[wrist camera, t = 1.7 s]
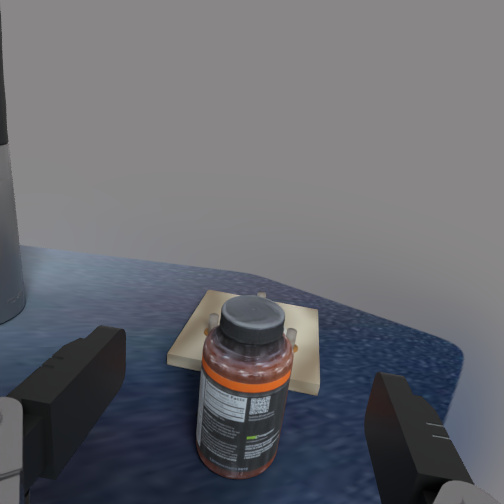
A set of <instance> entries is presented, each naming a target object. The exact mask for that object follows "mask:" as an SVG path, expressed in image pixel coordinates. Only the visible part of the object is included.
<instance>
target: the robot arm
mask: <svg viewBox="0 0 504 504" xmlns="http://www.w3.org/2000/svg"><path fill="white" fill-rule="evenodd" d="M3 77H4V76H3V59H2V32H1V13H0V324H1V323H3V322H6V321H7V320H9V319H11V318H13V317H14V316H16V315H17V314H18V313H20V312H21V310H22V309H23V308H24V306H25V296H24V286H23V276H22V265H21V255H20V246H19V236H18V227H17V218H16V210H15V209H16V208H15V198H14V189H13V179H12V171H11V162H10V152H9V144H8V135H7V124H6V123H7V121H6V100H5V88H4V78H3ZM125 367H126V333H125V330H124V329H120V328H114V327H108V326H102V325H101V326H98V327H97V328H96V329H95V330H94V331H93V332H92V333H91V334H90V335H88V336H87V337H86V338H85V339H83V338H79V339H77V340H75V341H73V342H70V343H68V344H66V345H64V346H63V347H62V348H61V349H59V350H58V351H57V352H56V353H55V354H54V355H53V356H52V358H49V359H48V360H47V361H46V362H45V363H43V365H42V367H39V368H38V369H37V370H35V371H34V372H33V373H32V374H31V375H30V376H29V377H27V378H26V379H25V380H24V381H23V382H22V383H21V384H20V385H18V386H17V387H16V388H15V389H14V390H13V391H12V392H10V393H9V394H8V395H7V396H6V397H0V504H31V493H30V487H31V486H32V485H33V483H34V482H35V481H36V479H37V478H38V477H43V478H48V479H53V480H56V478H57V477H58V475H59V474H60V473H61V471H62V470H63V468H64V467H65V466H66V464H67V463H68V461H69V460H70V459H71V457H72V456H73V454H74V453H75V452H76V450H77V449H78V447H79V446H80V445H81V443H82V442H83V440H84V439H85V438H86V436H87V435H88V433H89V432H90V430H91V429H92V428H93V426H94V425H95V423H96V422H97V421H98V419H99V418H100V416H101V415H102V414H103V412H104V411H105V409H106V408H107V407H108V405H109V404H110V402H111V401H112V400H113V398H114V397H115V395H116V394H117V393H118V391H119V390H120V388H121V386H122V383H123V380H124V376H125ZM364 428H365V436H366V440H367V445H368V449H369V453H370V457H371V461H372V465H373V470H374V474H375V478H376V482H377V486H378V490H379V494H380V499H381V503H382V504H500V503H499V502H498V501H497V500H496V499H495V498H493V497H492V496H491V495H490V494H488V493H487V492H485V491H484V490H482V489H481V488H479V487H477V486H475V485H474V483H473V481H472V479H471V477H470V475H469V473H468V472H467V470H466V468H465V466H464V464H463V462H462V460H461V458H460V456H459V454H458V453H457V451H456V449H455V447H454V445H453V443H452V441H451V440H449V436H448V434H447V432H446V430H445V428H443V424H442V422H441V420H440V418H439V416H438V414H437V413H436V411H435V409H434V408H433V407H432V406H431V405H430V404H429V403H428V402H427V401H426V400H425V399H424V398H423V397H422V396H416V395H413V393H412V391H411V389H410V387H409V385H408V383H407V381H406V379H405V377H404V376H400V375H394V374H388V373H382V372H378V373H377V374H376V376H375V378H374V382H373V386H372V390H371V394H370V398H369V402H368V405H367V409H366V414H365V422H364Z"/></svg>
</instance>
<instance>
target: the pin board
mask: <svg viewBox="0 0 504 504" xmlns="http://www.w3.org/2000/svg"><path fill="white" fill-rule="evenodd" d="M236 296H240V295H234V294H229V293H223V292H218V291H212V290H208V291H207V293H206V295H205V296H204V298H203V299H202V301H201V302H200V304H199V305H198V307H197V309H196V310H195V312H194V313H193V315H192V316H191V318H190V319H189V321H188V323H187V324H186V326H185V327H184V329H183V330H182V332H181V333H180V335H179V336H178V338H177V340H176V341H175V343H174V344H173V346H172V347H171V349H170V350H169V352H168V354H167V364H168V365H173V366H177V367H182V368H187V369H192V370H197V371H201V365H202V363H201V362H202V353H203V345H204V341H205V339H206V337H207V335H208V334H209V332H210V331H211V330H212V329H213V328H214V327H216V326H218V325H219V324H220V323H219V322H220V318H221V309H222V306H223V304H224V303H225V302H226V301H227V300H229V299H231V298H233V297H236ZM257 296H259V297H263V298H266V293H264V292H258V294H257ZM275 303H277V304H278V305H279V306H281V307H282V309H283V310H284V312H285V322H284V332H283V333H284V334H285V335H286V337H287V338H288V339H289V341H290V343H291V345H292V348H293V353H294V358H293V366H292V372H291V377H290V382H289V388H288V390H292V391H297V392H302V393H307V394H311V395H316V396H317V395H318V391H319V387H320V371H319V336H318V310H316V309H311V308H305V307H300V306H294V305H289V304H283V303H278V302H275Z"/></svg>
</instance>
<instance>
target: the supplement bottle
mask: <svg viewBox="0 0 504 504" xmlns="http://www.w3.org/2000/svg"><path fill="white" fill-rule="evenodd" d="M284 322H285V312H284V310H283V309H282V307H281V306H279V305H278V304H277V303H275V302H273V301H271V300H269V299H267V298H263V297H259V296H254V295H243V296H236V297H233V298H231V299H229V300H227V301H226V302H225V303H224V304H223V306H222V309H221V318H220V322H219V323H220V324H219V325H218V326H216V327H214V328H213V329H212V330H211V331H210V332H209V334H208V335H207V337H206V339H205V341H204V345H203V353H202V362H201V363H202V365H201V376H200V387H199V403H198V412H197V414H198V416H197V414H196V416H197V428H196V446H197V451H198V453H199V456H200V458H201V460H202V461H203V463H204V464H205V465H206V466H207V467H208V468H209V469H210V470H212V471H213V472H214V473H217V474H218V475H220V476H223V477H226V478H229V479H248V478H251V477H254V476H257V475H258V474H260V473H262V472H263V471H265V470H266V469H267V468H268V467H269V466H270V465H271V463H272V462H273V460H274V458H275V455H276V452H277V447H278V442H279V438H280V432H281V427H282V421H283V415H284V410H285V404H286V399H287V394H288V388H289V382H290V377H291V372H292V366H293V358H294V353H293V348H292V345H291V343H290V341H289V339H288V338H287V337H286V335H285V334H284V333H283V332H284Z"/></svg>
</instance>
